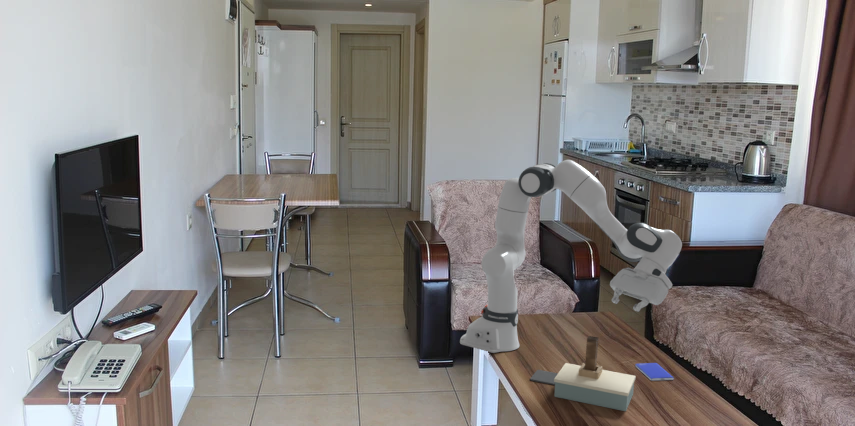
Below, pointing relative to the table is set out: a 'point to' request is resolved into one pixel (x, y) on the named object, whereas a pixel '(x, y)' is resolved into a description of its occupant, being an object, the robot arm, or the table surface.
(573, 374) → the cream and teal block
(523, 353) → the table surface
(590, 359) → the walnut key
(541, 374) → the key mat
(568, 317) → the table surface
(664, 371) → the hard drive
